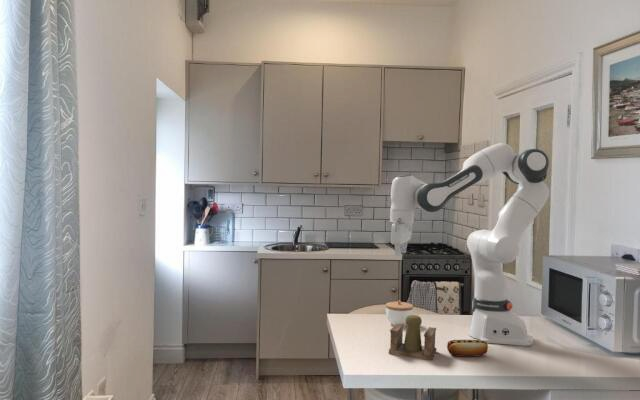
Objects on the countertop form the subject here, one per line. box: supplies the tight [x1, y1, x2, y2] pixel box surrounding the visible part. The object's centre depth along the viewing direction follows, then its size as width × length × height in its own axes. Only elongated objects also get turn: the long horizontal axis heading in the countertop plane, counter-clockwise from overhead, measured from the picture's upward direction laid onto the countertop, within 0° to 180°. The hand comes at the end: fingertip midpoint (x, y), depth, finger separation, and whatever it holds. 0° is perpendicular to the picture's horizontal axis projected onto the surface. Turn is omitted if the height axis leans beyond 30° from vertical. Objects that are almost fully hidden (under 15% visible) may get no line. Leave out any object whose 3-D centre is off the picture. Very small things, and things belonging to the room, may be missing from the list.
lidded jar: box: [385, 299, 414, 327], centre depth 203 cm, size 11×11×9 cm
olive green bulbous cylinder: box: [403, 314, 423, 352], centre depth 168 cm, size 6×6×11 cm
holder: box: [388, 323, 437, 361], centre depth 169 cm, size 14×9×8 cm
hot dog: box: [446, 339, 489, 357], centre depth 167 cm, size 5×13×5 cm, turn 93°
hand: (400, 254), depth 193 cm, fingers open, 8 cm apart
